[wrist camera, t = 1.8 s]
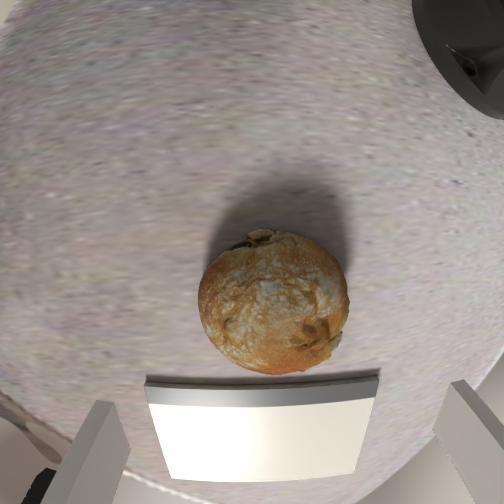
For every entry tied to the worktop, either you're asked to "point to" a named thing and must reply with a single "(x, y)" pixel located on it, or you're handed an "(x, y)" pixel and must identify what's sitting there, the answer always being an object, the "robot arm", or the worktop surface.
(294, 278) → the bread roll
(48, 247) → the worktop surface
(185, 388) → the mat
